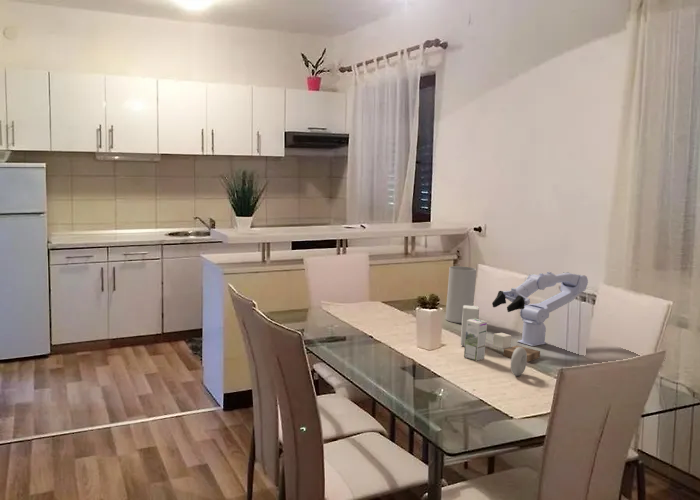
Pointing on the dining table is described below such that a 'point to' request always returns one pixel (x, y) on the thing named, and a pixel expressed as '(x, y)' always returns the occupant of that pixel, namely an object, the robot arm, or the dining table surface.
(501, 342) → the cube
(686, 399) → the dining table surface
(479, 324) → the syrup box
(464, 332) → the skincare box
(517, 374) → the donut
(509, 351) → the slab
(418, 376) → the dining table surface
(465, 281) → the cylinder vase
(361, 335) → the dining table surface
